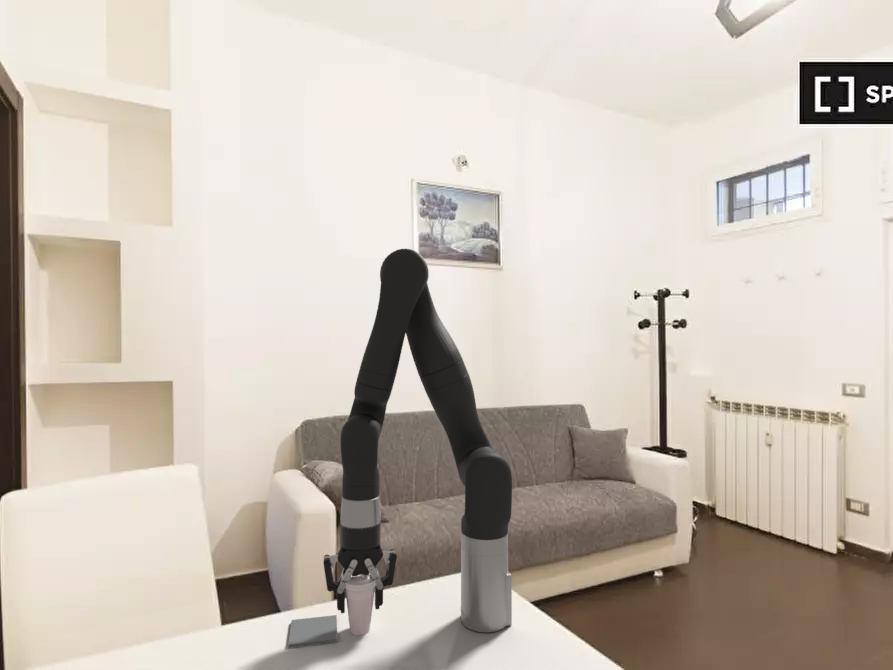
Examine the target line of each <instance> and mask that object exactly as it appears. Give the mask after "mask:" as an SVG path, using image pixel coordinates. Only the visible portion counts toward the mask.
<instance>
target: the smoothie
mask: <svg viewBox="0 0 893 670" xmlns="http://www.w3.org/2000/svg"><path fill="white" fill-rule="evenodd" d="M375 581H376V580H374V581H373V579H372V577H371V575H370V573H369V575H358V576H352V575H351V577H350V580H349V582H348V583H345V584H346V586H345V601H346V606H347V607H346V608H347V609H346V610H347V616H348V617H347V618H348V625H349V632H350V634H352V635H354V636H363V635H366V634H368V633H369V632H370V629H371V622H372V616H373V615H372V614H373V607H374V601H375V586H376V583H375Z"/></svg>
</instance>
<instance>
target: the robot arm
mask: <svg viewBox="0 0 893 670" xmlns="http://www.w3.org/2000/svg"><path fill="white" fill-rule="evenodd" d="M379 278H380V279H379V280H380V289H379V299H378V304H377V309H376V315H375V317H374V318H375V319H374V323H373V326H372V329H371V332H370V335H369V339H368V341H367V344H366V348H365V350H364V353H363V356H362V359H361V363H360V367H359V370H358V374H357V378H356V381H355V387H354V391H353V392H354V394H353V395H354V397H353V402H352V406H351V409H350V413H349V416H348V419H347V421H346V422H345V423H344V425H343V426H342V428H341V432H340V455H341V457H340V458H341V465H342V481H341V482H342V483H341V484H342V488H341V490H342V491H341V492H342V494H341V496H342V497H341V504H340V505H341V506H340V516H339V519H340V529H339V531H340V535H339V536H340V540H339V543H340V547H339V550H338V552H337V554H333V555H329V554H325V555H323V569H324V570H323V571H324V577H325V583H326V590H327V591H328V592H331V593H332V592H335V593H336V609H337V611H340V614H345V613H346V612H345V610H346V609H345V607H346V606H345V605H346V603H345V601H346V591H345V586H346V584H345V583H348V582H349V580H350V577H351V575H352V576H358V575H369V573H370V575H371V577H372V579H373V581H374V580H376V581H375V583H376V586H375V592H374V608H375V610H380V607H381V606H382V605H383V603H384V589H385V587H387V586H392V585H393V583H394V577H395V570H396V564H397V557H398V556H397V553H396V549H394V548H391V549H389V550H383V548H382V546H381V524H382V523H381V519H382V514H381V510H382V509H381V507H382V506H381V498H380V481H381V480H380V471H379V467H378V457H379V456H378V453H379V452H378V451H379V449H378V448H379V440H380V437H381V433H382V430H383V425H384V421H385V416H386V411H387V405H388V402H389V399H390V397H391V395H392V391H393V389H394V385H395V380H396V376H397V372H398V368H399V365H400V360H401V354H402V350H403V346H404V341H405V337H407V338H406V339H407V343H408V346H409V349H410V352H411V353H410V354H411V356H412V359H413V362H414V365H415V368H416V370H417V374H418V376H419V380H420V382H421V383H422V387H423V389H424V391H425V393H426V395H427V398H428V400H429V402H430V404H431V407H432V408H433V411H434V413H435V414H436V417H437V419H438V420H439V422H440V424H441V425H442V427H443V429H444V431H445V433H446V436H447V439H448V441H449V445H450V448H451V451H452V454H453V458H454V461H455V465H456V470H457V473H458V477H459V479H460V481H461V483H462V485H463V486H464V514H463V515H462V517H461V522H460V540H461V541H460V546H461V548H460V549H461V550H460V560H461V561H460V621H461V623H462V624H463V626H464V627H465V628H468V629H469V630H471V631H474V632H478V633H493V632H498V631H501V630H503V629H505V628H506V627H507V626H512V623H513V622H512V621H513V619H512V616H513V615H512V613H513V612H512V609H513V608H512V607H513V606H512V605H513V603H512V602H513V601H512V600H513V598H512V596H513V595H512V593H513V592H512V589H513V587H512V586H513V585H512V584H513V580H512V579H513V577H512V574H511V572H509V571H510V570H509V524H510V521H511V517H512V507H513V504H512V503H513V500H512V499H513V477H512V476H513V475H512V470H511V467H510V464H509V462H507V460H506V459H505V458H504V457H503V456H501V455H500V454H499V453H497V452H496V451H495V450H494V447H493V445H491V442H490V440H489V439H488V437H487V435H486V432H485V430H484V428H483V426H482V424H481V421H480V418H479V414H478V410H477V404H476V398H475V391H474V388H473V384H472V379H471V376H470V374H469V372H468V369H467V367H466V365H465V362H464V359H463V357H462V355H461V353H460V350H459V348H458V346H457V344H456V342H455V341H454V339H453V338H452V336H451V334H450V333H449V331H448V330H447V328H446V326H445V324H444V323H443V322H442V320H441V318H440V317H439V316H440V315H439V314H438V312H437V310H436V307H435V305H434V302H433V299H432V295H431V292H430V288H429V286H428V285H429V284H428V280H429V267H428V264H427V261H426V260H425V258H424V257H423V256H422V255H421V254H420V253H419V252H418V251H416V250H414V249H411V248H400V249H396V250H394V251H392V252H391V253H389V254H388V255H387V256H386V257H385V258H384V259H383V261H382V264H381V266H380V271H379ZM382 558H384V562H385V563H386V568H385V569H386V570H385V574H384V575H385V576H382V577H381V575H380V572H379V570H378V569H377V565H378V564H379V563H380V561H381V560H382ZM337 562H338V563H339V564H340V565H341V567H342V568H343V569H342V571H341V575H340V577H339V579H338V581H337V580H334V573H333V569H335V567H336V563H337Z"/></svg>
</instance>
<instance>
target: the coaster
mask: <svg viewBox="0 0 893 670" xmlns="http://www.w3.org/2000/svg"><path fill="white" fill-rule="evenodd" d="M337 622H338V619H337V614H333V615H324V616H315V617H308V618H307V617H306V618H297V619H291V621H290V630H289V637H288V644H287V645H288V646H287V647H288V649H291V648H290V647H294V648H301V647H300V646H302V647H309V645H310V646H317V645H326V644H332V643H334V644H335V643H338V626H337V625H338V623H337Z"/></svg>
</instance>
